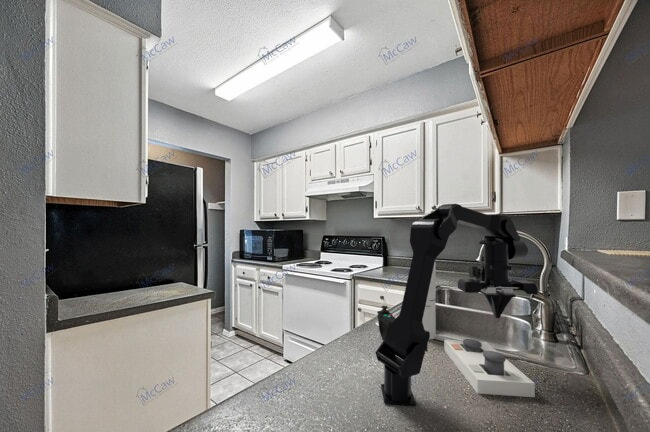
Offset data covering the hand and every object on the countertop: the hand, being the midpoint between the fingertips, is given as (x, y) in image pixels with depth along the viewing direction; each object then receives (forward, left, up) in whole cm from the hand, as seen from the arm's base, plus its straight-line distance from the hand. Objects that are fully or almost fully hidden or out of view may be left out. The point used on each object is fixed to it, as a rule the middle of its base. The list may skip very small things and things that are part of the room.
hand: (496, 317), depth 77 cm
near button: (-10, +6, -10) cm, 16 cm away
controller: (+12, +28, -13) cm, 33 cm away
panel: (-4, +6, -12) cm, 14 cm away
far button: (+2, +6, -12) cm, 14 cm away
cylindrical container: (+18, +15, -12) cm, 26 cm away
